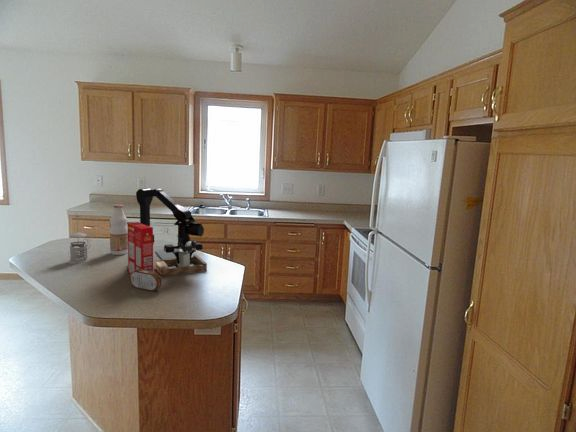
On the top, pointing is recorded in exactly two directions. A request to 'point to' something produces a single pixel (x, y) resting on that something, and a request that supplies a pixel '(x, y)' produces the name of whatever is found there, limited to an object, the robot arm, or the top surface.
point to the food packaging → (140, 247)
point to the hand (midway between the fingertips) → (183, 263)
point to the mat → (165, 255)
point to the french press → (73, 251)
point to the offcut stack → (161, 266)
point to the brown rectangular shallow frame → (182, 270)
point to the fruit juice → (118, 232)
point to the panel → (184, 258)
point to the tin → (145, 279)
